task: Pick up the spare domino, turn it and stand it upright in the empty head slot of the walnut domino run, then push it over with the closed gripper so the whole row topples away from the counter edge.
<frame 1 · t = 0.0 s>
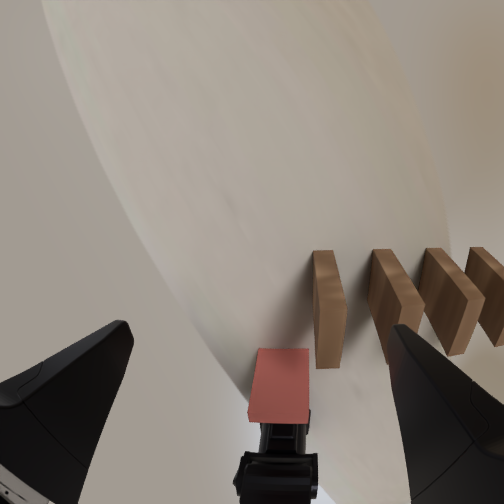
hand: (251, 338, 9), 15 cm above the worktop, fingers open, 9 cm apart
domino 3: (378, 275, 24), on the worktop
domino 4: (428, 273, 23), on the worktop
domino 2: (322, 277, 24), on the worktop
domino 5: (470, 271, 22), on the worktop
spare domino: (283, 354, 29), on the worktop
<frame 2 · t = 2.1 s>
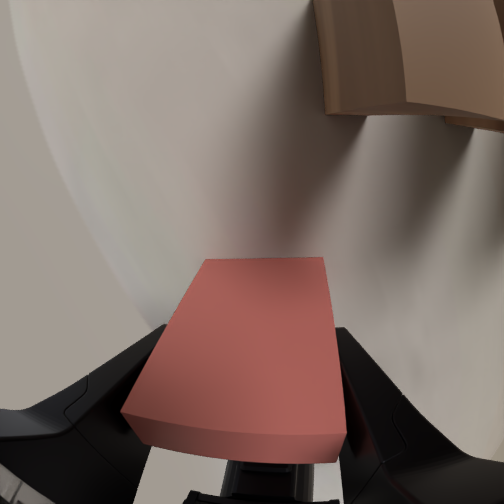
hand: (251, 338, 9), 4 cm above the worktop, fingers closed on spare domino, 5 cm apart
domino 3: (456, 67, 8), on the worktop
domino 2: (341, 51, 8), on the worktop
spare domino: (264, 275, 13), on the worktop, touching gripper
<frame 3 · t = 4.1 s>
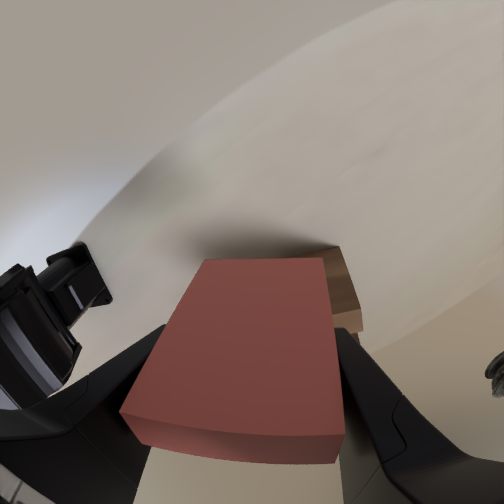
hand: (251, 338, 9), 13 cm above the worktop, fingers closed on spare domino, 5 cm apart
domino 2: (309, 262, 23), on the worktop
spare domino: (263, 275, 13), point 9 cm above the worktop, touching gripper
salt shaker: (499, 363, 26), on the worktop
when the fingers open (5 cm above the worktop, at t = 6.2 s): spare domino drops 1 cm, on the worktop.
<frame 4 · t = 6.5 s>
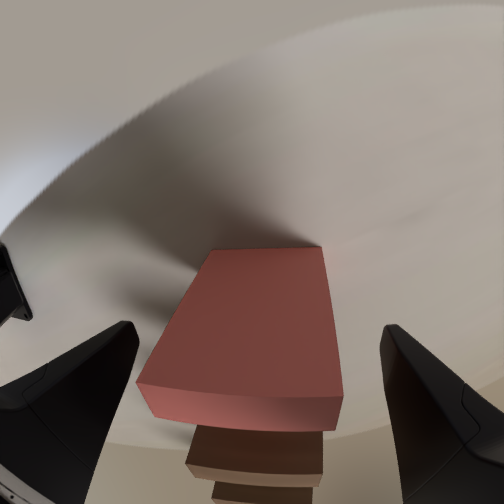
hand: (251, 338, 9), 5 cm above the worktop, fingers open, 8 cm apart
domino 3: (275, 397, 18), on the worktop
domino 2: (272, 344, 16), on the worktop
spare domino: (266, 264, 14), on the worktop
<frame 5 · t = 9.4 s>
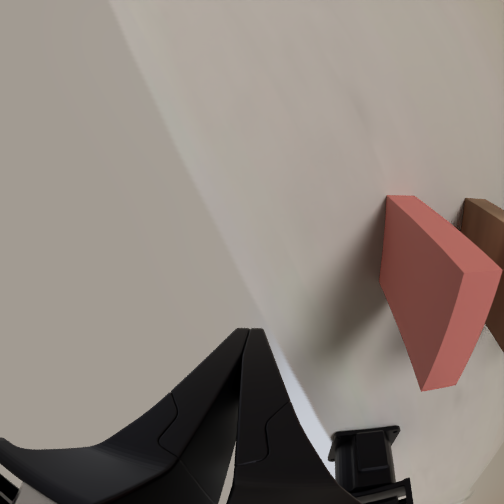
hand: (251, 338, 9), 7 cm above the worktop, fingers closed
domino 2: (469, 239, 14), on the worktop
spare domino: (397, 240, 14), on the worktop
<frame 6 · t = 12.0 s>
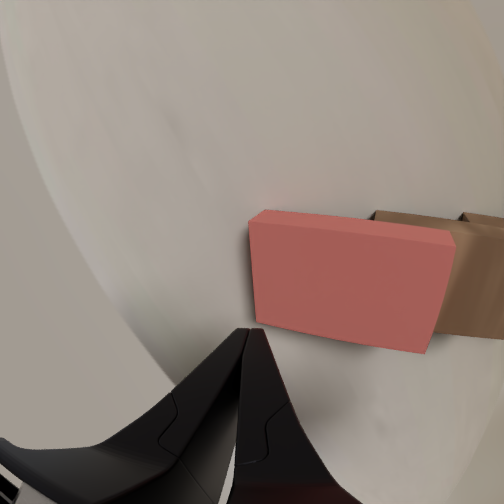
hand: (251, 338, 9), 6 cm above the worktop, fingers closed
domino 3: (458, 264, 12), point 1 cm above the worktop, tilted 72°, touching domino 2, domino 4
domino 2: (370, 268, 13), point 1 cm above the worktop, tilted 71°, touching domino 3, spare domino
spare domino: (260, 268, 13), point 1 cm above the worktop, tilted 71°, touching domino 2
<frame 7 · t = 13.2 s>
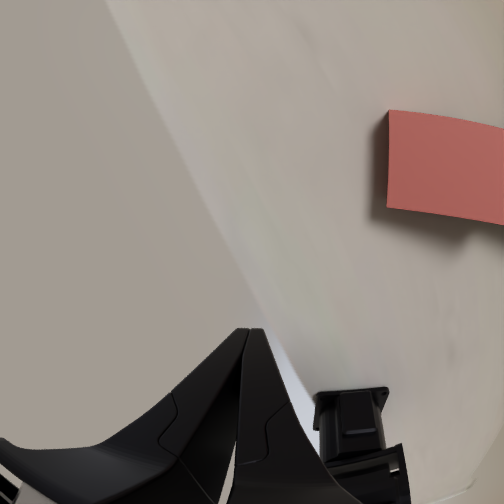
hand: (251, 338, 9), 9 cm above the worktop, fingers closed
spare domino: (388, 157, 13), point 1 cm above the worktop, tilted 72°, touching domino 2
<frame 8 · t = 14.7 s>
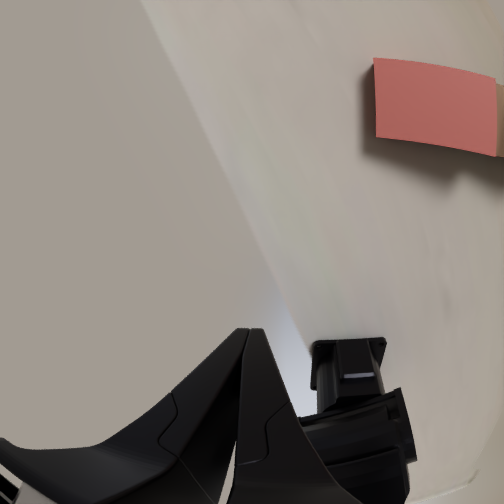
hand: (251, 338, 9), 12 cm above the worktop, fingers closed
domino 2: (450, 109, 14), point 1 cm above the worktop, tilted 73°, touching spare domino
spare domino: (375, 97, 15), point 1 cm above the worktop, tilted 73°, touching domino 2
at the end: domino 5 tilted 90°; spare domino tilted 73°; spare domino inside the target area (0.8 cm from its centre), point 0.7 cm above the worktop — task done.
